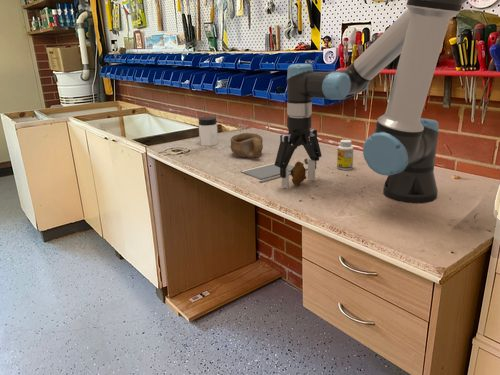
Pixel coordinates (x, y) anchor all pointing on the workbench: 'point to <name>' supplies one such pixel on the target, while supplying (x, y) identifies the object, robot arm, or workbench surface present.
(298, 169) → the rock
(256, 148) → the bowl
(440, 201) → the workbench surface
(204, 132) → the jar
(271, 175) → the mat
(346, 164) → the supplement bottle
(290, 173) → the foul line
